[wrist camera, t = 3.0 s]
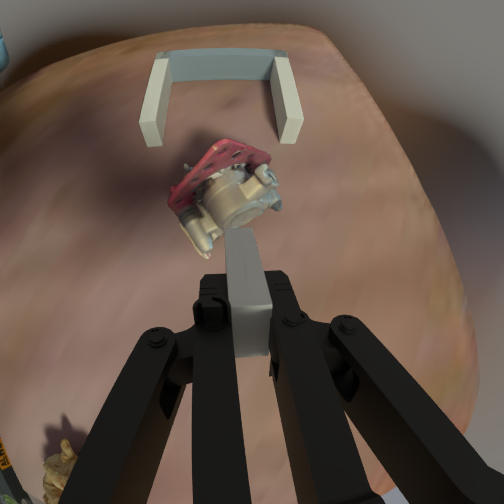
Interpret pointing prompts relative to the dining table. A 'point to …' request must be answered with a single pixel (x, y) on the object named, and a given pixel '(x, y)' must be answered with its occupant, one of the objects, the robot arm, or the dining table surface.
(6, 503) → the pizza box
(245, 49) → the cradle
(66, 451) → the ginger root
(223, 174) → the brake caliper
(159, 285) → the dining table surface
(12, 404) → the dining table surface
